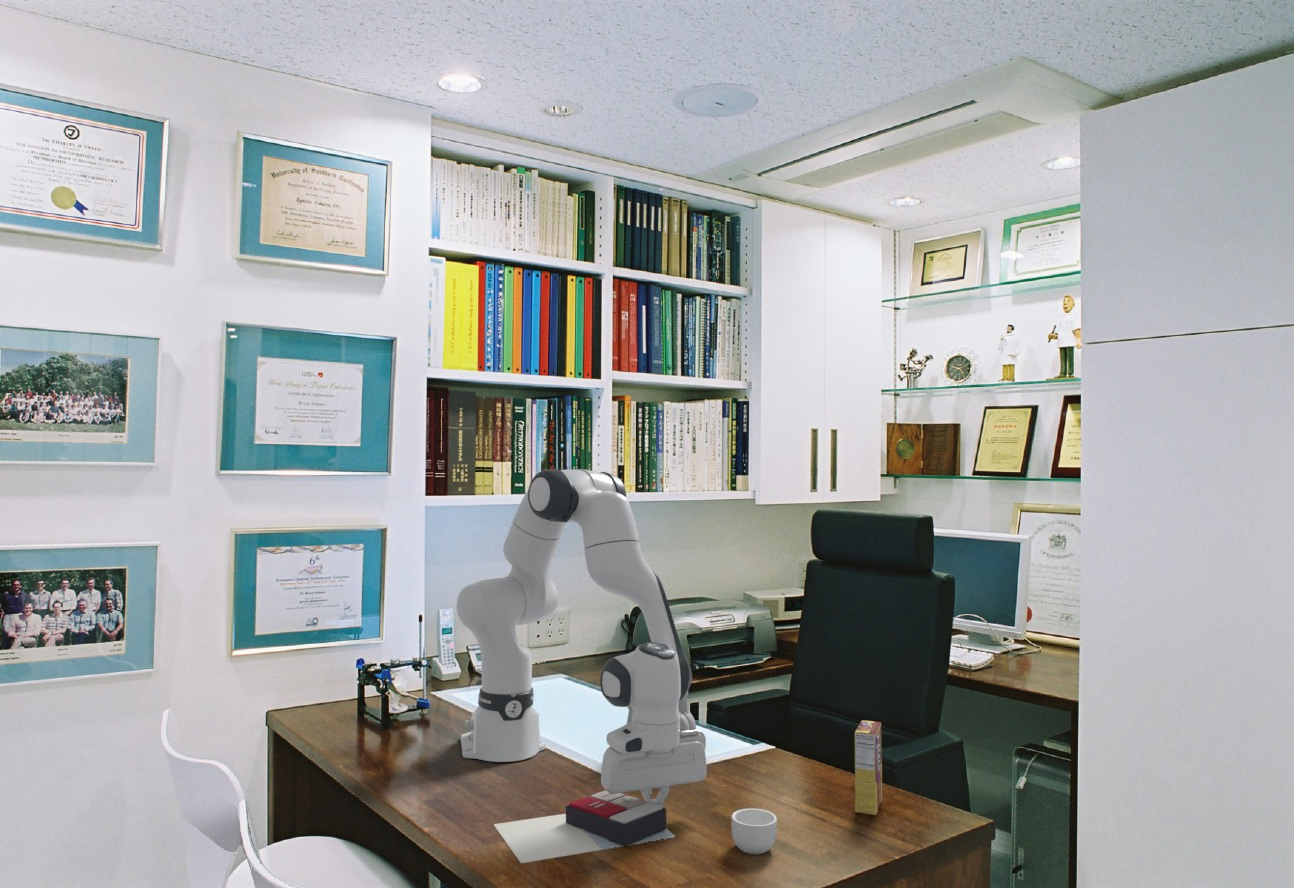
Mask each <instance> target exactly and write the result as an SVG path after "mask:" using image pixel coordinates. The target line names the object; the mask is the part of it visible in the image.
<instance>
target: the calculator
mask: <svg viewBox="0 0 1294 888" xmlns="http://www.w3.org/2000/svg"><path fill="white" fill-rule="evenodd" d="M565 814H566V823H568V824H571V825H574V826H577V827H580V828H583V829H586V830H589V831H592V832H595V833H598V834H601V835H604V836H606V837H607V838H608V840H609V841H611V842H614V843H617V844H620V845H623V846H622V847H627V846H626V845H628V846H630V845H629V844H631V843H634V842H636V841H638V840H641V839H643V838H646V837H648V836H650V835H653V834H655V833H657V832H660V831H662V830H665V829H667V808H666V807H664V805H663V806H660V805H656V804H653V803H649V802H648V803H646V800H645V799H642V798H639V797H635V796H631V795H625V794H624V793H617V794H610V793H609V792H607V791H606V790H605V789H604V790H603V791H599V792H597V793H594V794H591V795H589V796H585V797H582V798H579V799H576V800H573V801H569V804H567V805H566V806H565Z"/></svg>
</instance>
